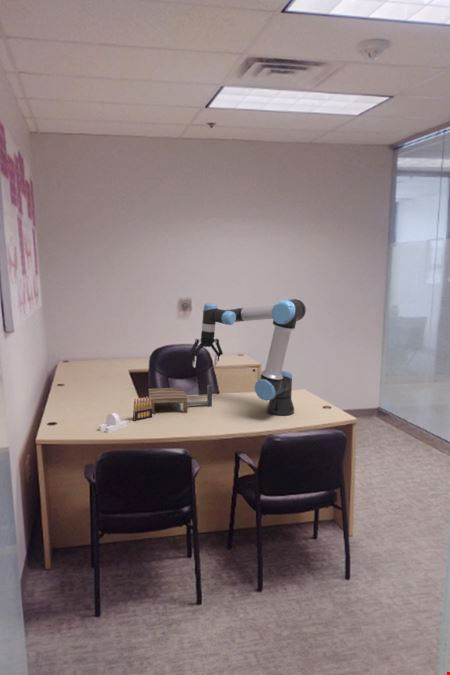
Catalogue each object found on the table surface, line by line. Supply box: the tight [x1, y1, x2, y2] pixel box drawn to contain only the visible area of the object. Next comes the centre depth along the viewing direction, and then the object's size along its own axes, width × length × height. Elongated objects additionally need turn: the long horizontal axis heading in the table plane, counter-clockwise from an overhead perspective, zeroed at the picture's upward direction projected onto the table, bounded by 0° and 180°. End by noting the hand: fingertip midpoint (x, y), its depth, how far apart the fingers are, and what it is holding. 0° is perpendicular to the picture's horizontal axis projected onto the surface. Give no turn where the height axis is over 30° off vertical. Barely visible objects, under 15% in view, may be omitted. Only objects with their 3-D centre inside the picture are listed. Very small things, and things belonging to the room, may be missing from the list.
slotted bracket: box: [98, 412, 128, 434], centre depth 250 cm, size 13×7×8 cm, turn 145°
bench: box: [148, 387, 188, 415], centre depth 286 cm, size 24×20×8 cm
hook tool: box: [187, 384, 213, 410], centre depth 290 cm, size 7×15×12 cm, turn 101°
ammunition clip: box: [132, 395, 153, 422], centre depth 265 cm, size 11×2×12 cm, turn 129°
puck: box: [172, 404, 182, 409], centre depth 288 cm, size 5×5×1 cm
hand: (204, 366), depth 290 cm, fingers open, 13 cm apart
